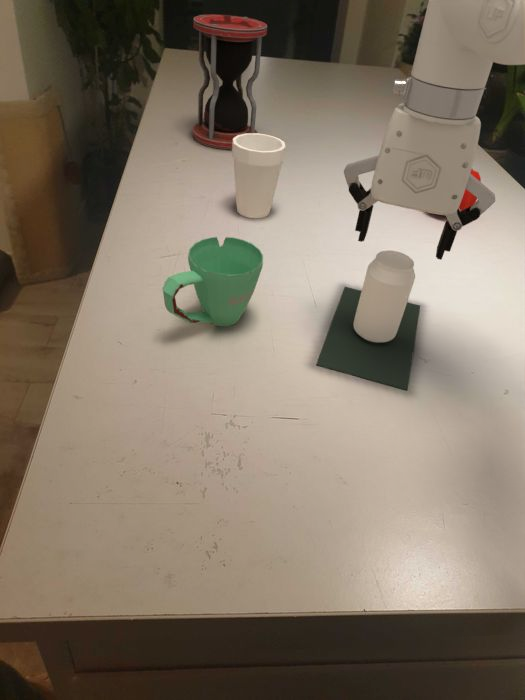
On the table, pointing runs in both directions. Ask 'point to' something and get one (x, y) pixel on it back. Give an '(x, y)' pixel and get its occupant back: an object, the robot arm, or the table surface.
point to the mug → (217, 280)
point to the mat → (369, 346)
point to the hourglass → (226, 77)
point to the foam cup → (256, 172)
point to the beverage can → (384, 296)
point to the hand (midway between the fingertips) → (400, 245)
